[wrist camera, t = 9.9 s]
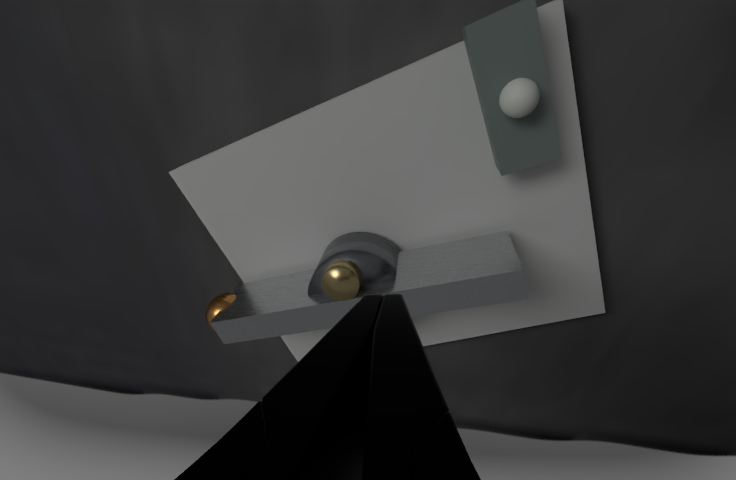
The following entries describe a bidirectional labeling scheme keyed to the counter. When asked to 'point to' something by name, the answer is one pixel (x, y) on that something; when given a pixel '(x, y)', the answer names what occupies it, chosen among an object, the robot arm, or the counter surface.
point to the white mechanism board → (425, 174)
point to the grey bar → (372, 284)
